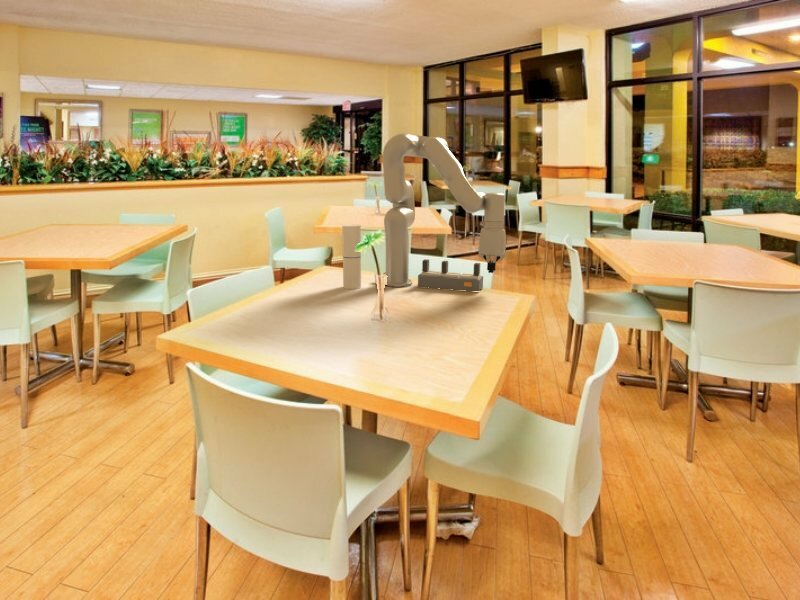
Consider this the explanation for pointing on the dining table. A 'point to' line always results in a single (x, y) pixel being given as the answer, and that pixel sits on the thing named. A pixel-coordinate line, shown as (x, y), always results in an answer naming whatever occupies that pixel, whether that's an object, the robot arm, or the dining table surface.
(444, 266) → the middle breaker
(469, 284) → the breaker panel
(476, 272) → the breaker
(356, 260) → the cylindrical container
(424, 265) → the peg
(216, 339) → the dining table surface
